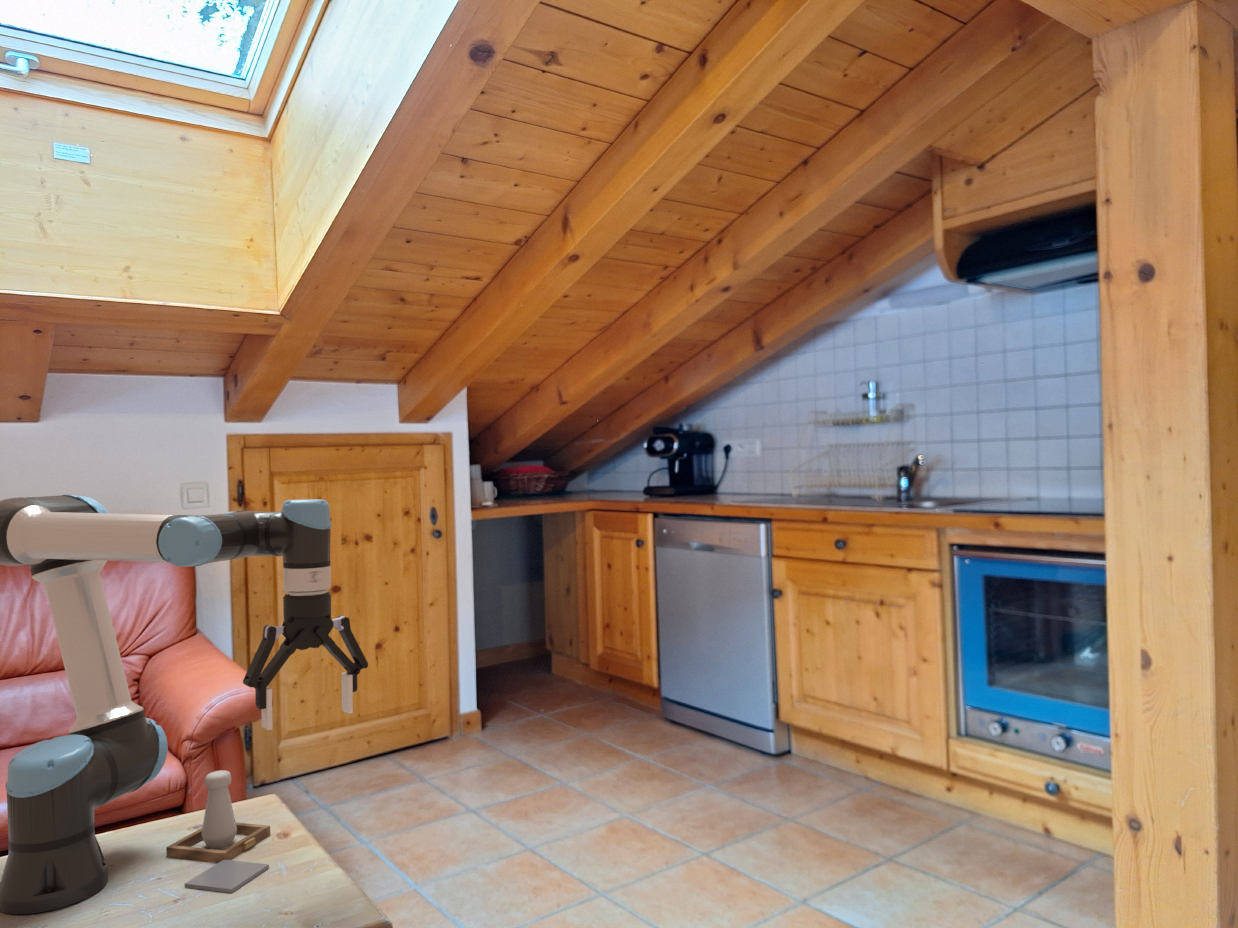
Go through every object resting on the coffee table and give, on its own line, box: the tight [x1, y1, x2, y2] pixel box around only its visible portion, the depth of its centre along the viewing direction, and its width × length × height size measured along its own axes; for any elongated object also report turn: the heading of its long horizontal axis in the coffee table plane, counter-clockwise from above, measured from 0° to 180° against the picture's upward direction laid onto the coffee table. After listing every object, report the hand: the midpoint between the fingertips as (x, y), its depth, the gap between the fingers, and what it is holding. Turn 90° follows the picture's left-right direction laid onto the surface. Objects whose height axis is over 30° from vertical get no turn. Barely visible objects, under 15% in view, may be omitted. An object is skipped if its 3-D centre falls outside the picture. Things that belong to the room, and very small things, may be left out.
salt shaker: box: [201, 769, 237, 850], centre depth 158 cm, size 6×6×13 cm
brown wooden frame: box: [165, 821, 271, 863], centre depth 158 cm, size 13×12×2 cm
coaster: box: [184, 859, 270, 894], centre depth 145 cm, size 9×9×1 cm
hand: (308, 719), depth 147 cm, fingers open, 13 cm apart
